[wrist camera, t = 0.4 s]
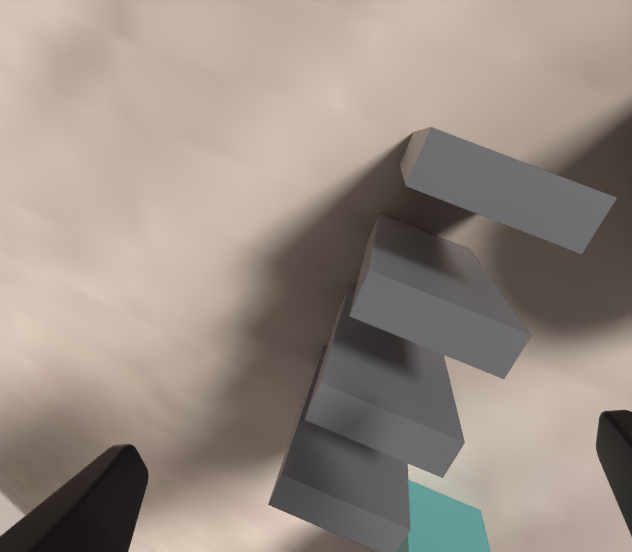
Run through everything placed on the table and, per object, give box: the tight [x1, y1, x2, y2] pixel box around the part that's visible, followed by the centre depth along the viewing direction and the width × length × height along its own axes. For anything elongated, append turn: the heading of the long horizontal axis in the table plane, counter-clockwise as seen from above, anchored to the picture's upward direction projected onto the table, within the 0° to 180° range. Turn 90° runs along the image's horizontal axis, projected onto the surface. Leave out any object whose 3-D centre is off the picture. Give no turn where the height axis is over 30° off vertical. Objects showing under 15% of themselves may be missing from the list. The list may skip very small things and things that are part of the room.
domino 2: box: [305, 284, 465, 478], centre depth 19 cm, size 2×5×10 cm, turn 70°
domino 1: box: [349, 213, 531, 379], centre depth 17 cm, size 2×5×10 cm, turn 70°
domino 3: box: [268, 346, 411, 552], centre depth 20 cm, size 2×5×10 cm, turn 70°
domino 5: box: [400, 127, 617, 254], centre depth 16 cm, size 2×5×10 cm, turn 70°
